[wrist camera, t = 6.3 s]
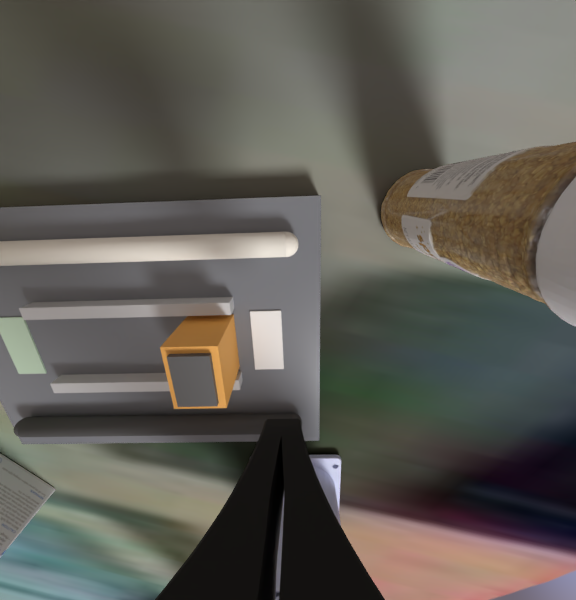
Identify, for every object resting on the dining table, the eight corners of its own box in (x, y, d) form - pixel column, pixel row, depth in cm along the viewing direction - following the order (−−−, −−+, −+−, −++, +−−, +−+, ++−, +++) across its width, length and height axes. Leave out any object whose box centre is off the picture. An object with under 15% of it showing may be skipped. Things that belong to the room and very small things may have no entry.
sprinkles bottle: (376, 248, 18) (586, 380, 5) (382, 169, 16) (714, 74, 3) (449, 245, 17) (853, 375, 5) (462, 165, 16) (1120, 51, 3)
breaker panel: (317, 425, 23) (320, 451, 21) (38, 429, 24) (10, 454, 21) (318, 195, 16) (322, 195, 14) (-65, 209, 17) (-122, 212, 15)
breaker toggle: (239, 366, 19) (225, 412, 15) (197, 367, 19) (171, 412, 15) (233, 314, 18) (216, 349, 14) (187, 315, 18) (157, 350, 14)
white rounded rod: (298, 254, 16) (298, 258, 15) (-49, 264, 17) (-78, 270, 16) (298, 229, 16) (298, 232, 14) (-60, 242, 16) (-91, 245, 15)
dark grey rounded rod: (302, 423, 21) (302, 438, 20) (29, 426, 22) (12, 441, 20) (301, 408, 20) (302, 423, 19) (23, 412, 21) (5, 427, 20)
